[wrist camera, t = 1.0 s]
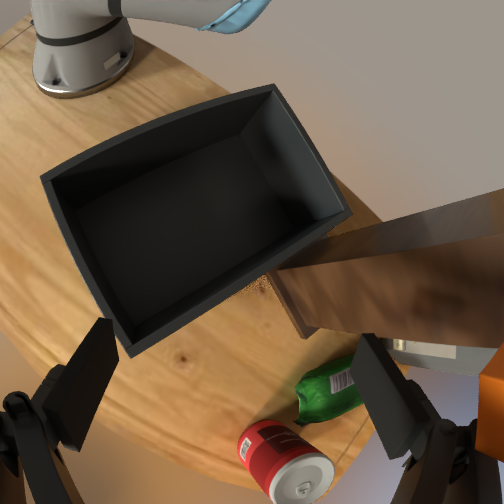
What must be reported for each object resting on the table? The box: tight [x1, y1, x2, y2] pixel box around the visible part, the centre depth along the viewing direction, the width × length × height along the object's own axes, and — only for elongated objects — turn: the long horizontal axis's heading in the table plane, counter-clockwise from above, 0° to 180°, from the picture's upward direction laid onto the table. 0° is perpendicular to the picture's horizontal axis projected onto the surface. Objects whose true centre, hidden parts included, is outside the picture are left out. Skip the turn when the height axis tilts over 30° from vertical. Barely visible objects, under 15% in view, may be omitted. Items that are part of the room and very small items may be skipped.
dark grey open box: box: [40, 84, 353, 359], centre depth 28 cm, size 16×24×11 cm, turn 122°
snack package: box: [293, 353, 364, 427], centre depth 35 cm, size 7×16×5 cm, turn 99°
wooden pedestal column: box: [265, 188, 504, 349], centre depth 24 cm, size 11×10×30 cm
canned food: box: [238, 420, 335, 504], centre depth 28 cm, size 8×8×11 cm
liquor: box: [382, 337, 498, 376], centre depth 29 cm, size 9×9×30 cm
